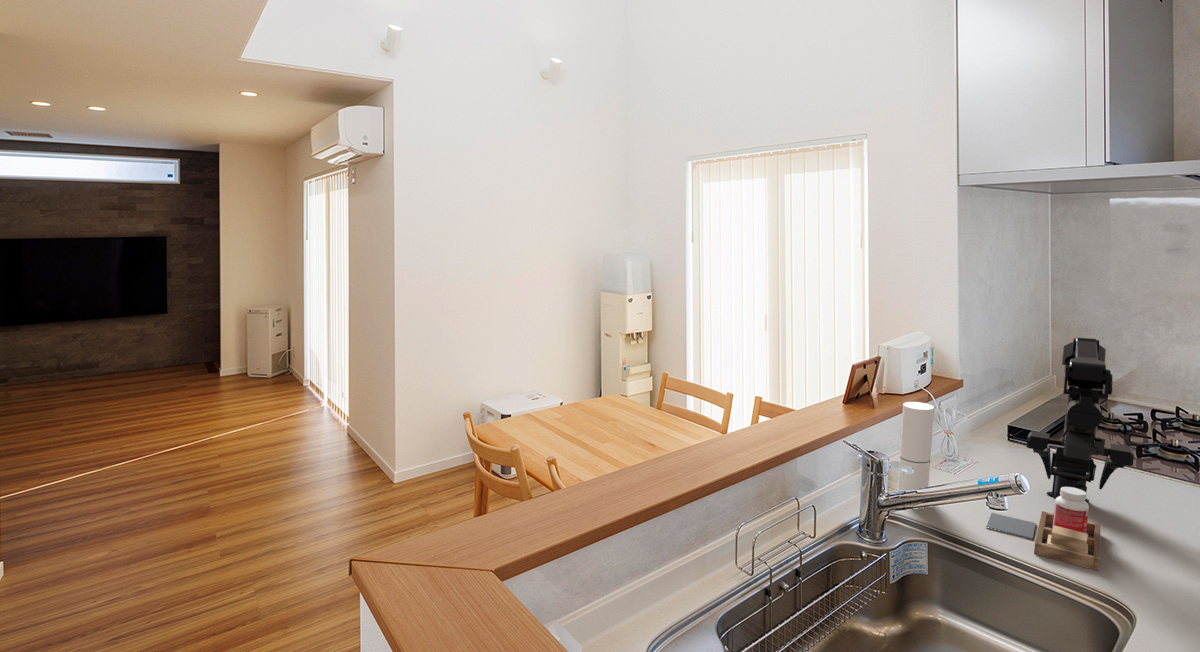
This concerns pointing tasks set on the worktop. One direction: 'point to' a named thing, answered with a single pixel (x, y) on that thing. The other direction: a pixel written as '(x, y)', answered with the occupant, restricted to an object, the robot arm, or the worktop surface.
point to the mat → (1011, 525)
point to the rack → (1067, 554)
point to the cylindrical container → (916, 444)
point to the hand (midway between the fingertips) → (1074, 483)
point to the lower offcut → (1065, 547)
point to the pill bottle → (1071, 509)
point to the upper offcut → (1069, 538)
